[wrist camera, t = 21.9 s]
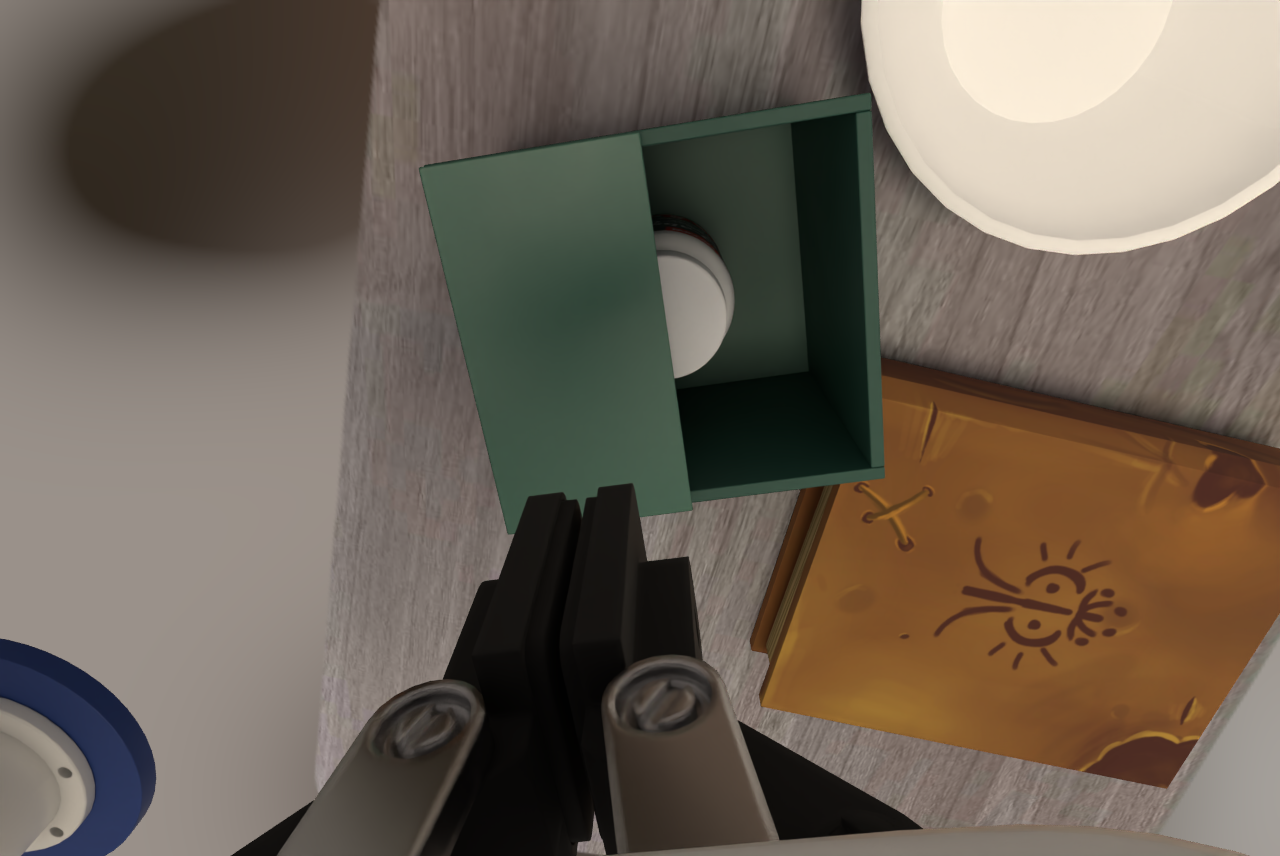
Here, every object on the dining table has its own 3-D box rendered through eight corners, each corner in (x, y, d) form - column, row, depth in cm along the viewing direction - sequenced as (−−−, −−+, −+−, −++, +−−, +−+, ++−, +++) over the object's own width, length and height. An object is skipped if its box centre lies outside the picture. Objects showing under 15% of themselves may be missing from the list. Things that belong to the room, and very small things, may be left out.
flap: (509, 529, 28) (507, 535, 28) (421, 167, 23) (418, 167, 23) (692, 505, 27) (693, 510, 27) (639, 131, 23) (639, 131, 22)
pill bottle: (719, 208, 35) (741, 234, 26) (724, 325, 38) (747, 388, 28) (599, 218, 36) (579, 248, 26) (610, 334, 38) (596, 399, 29)
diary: (1265, 440, 40) (1360, 488, 34) (1108, 713, 46) (1167, 788, 41) (848, 345, 38) (879, 380, 33) (749, 640, 45) (761, 709, 40)
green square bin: (552, 412, 40) (510, 526, 28) (499, 155, 35) (422, 165, 24) (817, 375, 39) (885, 478, 27) (798, 106, 34) (871, 92, 23)
